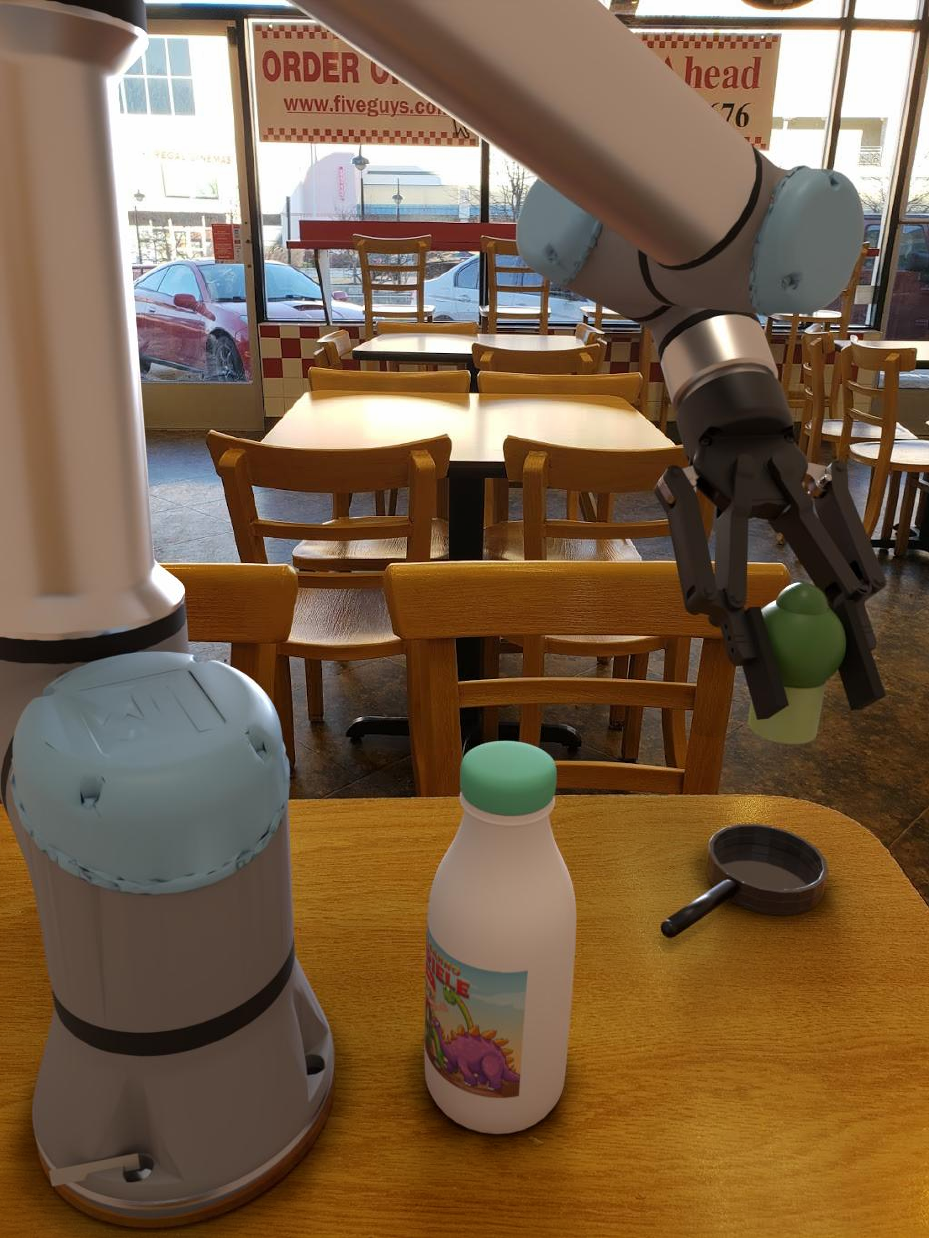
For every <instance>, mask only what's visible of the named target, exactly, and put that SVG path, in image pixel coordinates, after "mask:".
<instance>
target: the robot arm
mask: <svg viewBox="0 0 929 1238" xmlns="http://www.w3.org/2000/svg"><path fill="white" fill-rule="evenodd" d="M285 1H286V2H287V3H288V4H290V5H292V6H293V7H295V8H297V10H298V11H300V12H302V13H303V14H305V15H306V16H307V17H309V18H310V19H311V20H313V21H315V23H317V24H318V25H320V26H321V27H323V28H324V29H326V30H327V31H329V32H330V33H331V34H333V35H334V36H336V37H337V38H339V39H340V40H341V41H343V42H344V43H346V44H347V45H348V46H350V47H351V48H353V49H354V50H356V51H357V52H358V53H360V54H361V55H363V56H364V57H366V58H367V60H370V61H371V62H372V63H374V64H375V65H377V66H378V67H380V68H381V69H382V70H383V71H385V72H387V73H388V74H389V75H391V76H393V77H394V78H395V79H396V80H398V81H399V82H401V83H402V84H404V85H405V86H406V87H408V88H409V89H410V90H412V91H414V92H415V93H416V94H418V95H419V96H421V97H422V98H423V99H425V100H426V101H428V102H429V103H430V104H432V105H433V106H435V108H437V109H439V110H440V111H442V112H443V113H444V114H446V115H447V116H449V117H450V118H452V119H453V120H455V121H456V122H457V123H459V124H460V125H462V126H463V127H465V128H466V129H468V130H469V131H470V132H472V133H473V134H475V135H476V136H478V137H479V138H480V139H482V140H483V141H484V142H486V143H487V144H489V145H490V146H492V147H493V148H494V149H496V150H497V151H499V152H500V153H501V154H503V155H504V156H505V157H507V158H509V159H510V160H512V161H513V162H514V163H516V164H517V165H518V166H519V167H521V168H523V170H525V171H527V172H528V173H529V174H531V175H532V176H534V177H535V178H536V179H535V181H533V183H532V185H531V186H530V188H529V189H528V191H527V193H526V195H525V197H524V199H523V201H522V205H521V209H520V212H519V216H518V218H517V221H516V226H515V227H516V228H515V242H516V249H517V252H518V255H519V257H520V259H521V260H522V263H524V265H526V267H527V268H528V269H530V270H532V271H533V272H534V273H537V274H538V275H539V276H541V277H543V278H544V279H546V280H548V281H549V282H550V283H551V284H552V285H553V286H554V287H556V288H563V289H565V290H568V291H570V292H571V293H574V294H576V295H578V296H580V297H582V298H584V299H586V300H588V301H591V302H593V303H595V304H597V305H599V306H601V307H603V308H605V309H607V310H610V311H611V312H614V313H615V314H618V315H620V316H621V317H623V318H625V319H627V320H629V321H632V322H634V323H635V324H638V325H640V326H642V327H644V328H646V329H647V330H648V332H650V334H651V337H652V340H653V344H654V346H655V350H656V354H657V356H658V360H659V363H660V367H661V370H662V375H663V377H664V381H665V385H666V388H667V392H668V395H669V399H670V403H671V406H672V409H673V412H674V414H676V416H675V422H676V426H677V430H678V433H679V437H680V441H681V444H682V448H683V452H684V455H685V457H686V460H687V461H688V466H686V467H683V468H682V467H681V466H679V465H677V464H671V465H669V466H668V467H667V468H666V470H665V472H664V473H663V474H662V476H661V477H660V478H659V480H658V482H657V483H656V485H655V486H654V488H653V493H654V495H655V497H656V498H657V501H658V502H659V504H660V505H661V507H662V509H663V510H664V512H665V514H666V518H667V522H668V527H669V533H670V538H671V544H672V548H673V553H674V558H675V564H676V569H677V573H678V579H679V584H680V590H681V594H682V599H683V604H684V609H685V611H686V612H687V613H688V614H689V615H692V616H699V615H700V614H703V615H705V616H707V621H708V622H709V624H710V625H711V626H712V627H715V628H720V631H721V635H722V639H723V642H724V647H725V650H726V655H727V658H728V660H729V662H730V663H731V665H732V666H733V667H734V668H736V667H742V670H743V673H744V674H743V675H744V678H745V681H746V685H747V688H748V692H749V695H750V700H751V699H752V703H753V707H754V710H755V714H756V717H757V720H762V719H769V718H770V717H772V716H773V715H775V714H776V713H778V712H779V711H781V710H782V709H784V708H785V707H787V706H788V705H789V703H788V700H787V696H786V693H785V689H784V686H783V683H782V679H781V676H780V672H779V669H778V665H777V662H776V659H775V655H774V652H773V648H772V645H771V642H770V638H769V635H768V631H767V628H766V624H765V621H764V618H763V614H762V611H761V610H762V608H761V606H760V605H759V606H749V607H748V608H747V609H745V606H746V604H747V601H748V598H747V597H748V596H747V595H748V559H749V558H748V554H749V553H748V552H749V520H750V519H760V520H765V521H767V522H768V523H769V525H770V526H771V528H772V529H773V531H774V532H775V533H777V534H780V535H782V537H783V538H784V539H785V541H786V543H787V544H788V546H789V547H790V549H791V550H792V552H793V554H794V555H795V556H796V558H797V559H798V562H799V563H800V564H801V566H802V567H803V569H804V571H805V572H806V574H807V575H808V577H809V579H810V580H811V582H812V583H813V585H814V586H816V587H818V588H819V589H820V590H821V591H822V592H823V593H824V594H825V596H826V598H827V601H828V605H829V608H830V609H831V610H832V611H833V612H834V613H835V614H836V616H837V617H838V618H839V620H840V622H841V623H842V625H843V628H844V631H845V636H846V651H845V656H844V659H843V661H842V663H841V665H840V667H839V668H838V670H837V671H838V673H839V677H840V680H841V683H842V686H843V690H844V693H845V696H846V699H847V703H848V705H849V708H850V711H862V710H864V709H866V708H867V707H869V706H870V705H872V704H874V703H876V702H878V701H879V700H881V699H883V698H885V697H886V696H887V694H886V691H885V688H884V686H883V683H882V680H881V677H880V673H879V671H878V668H877V666H876V665H877V664H876V661H875V658H874V656H873V653H872V651H874V650H875V649H877V638H876V635H875V632H874V628H873V626H872V623H871V620H870V616H869V614H868V611H867V609H866V602H867V601H868V600H870V599H871V598H873V596H875V595H876V594H878V593H879V592H880V591H882V590H884V589H885V587H886V586H887V578H886V576H885V574H884V572H883V569H882V567H881V564H880V561H879V559H878V557H877V554H876V552H875V550H874V548H873V545H872V543H871V541H870V538H869V536H868V532H867V531H866V528H865V525H864V523H863V521H862V518H861V516H860V514H859V511H858V509H857V507H856V504H855V501H854V499H853V497H852V495H851V492H850V490H849V469H848V465H847V464H846V463H845V462H844V461H842V460H839V459H835V460H833V461H832V462H831V463H830V464H829V465H828V466H826V465H822V464H817V463H813V462H810V461H809V460H808V458H807V456H806V454H804V452H803V451H802V450H801V449H800V448H799V446H798V445H797V443H796V441H795V423H794V421H795V420H794V418H793V414H792V412H791V409H790V405H789V402H788V401H787V397H786V393H785V391H784V388H783V385H782V383H781V381H780V380H779V371H778V368H777V365H776V362H775V358H774V357H773V354H772V351H771V348H770V346H769V342H768V339H767V337H766V334H765V331H764V329H763V326H762V323H761V320H760V318H759V317H760V316H761V317H764V318H765V317H771V316H773V315H774V314H775V315H778V314H779V315H809V314H813V313H815V312H816V313H817V312H819V311H821V310H823V309H825V308H826V307H828V306H829V305H831V304H832V303H833V302H834V301H835V300H837V298H838V297H839V296H840V295H841V294H842V293H843V291H844V290H845V289H846V288H847V286H848V284H849V283H850V282H851V279H852V276H853V272H854V270H855V267H856V264H857V262H858V261H859V260H860V257H861V255H862V254H861V253H862V251H863V250H862V249H863V244H864V238H865V237H864V236H865V213H864V208H863V204H862V200H861V197H860V194H859V191H858V190H857V188H856V186H855V184H854V183H853V182H852V181H851V180H850V178H849V177H847V176H846V175H845V174H843V173H842V172H840V171H837V170H834V169H828V168H811V167H810V166H808V165H805V164H802V165H796V166H794V167H792V168H791V169H785V168H781V167H778V166H777V165H775V164H774V162H772V161H771V160H770V159H768V157H767V156H765V155H764V153H762V152H761V151H759V149H757V148H756V147H755V146H754V145H752V143H750V141H748V139H746V138H745V137H744V136H743V135H742V133H740V132H739V131H738V130H737V129H735V128H734V126H732V125H731V124H730V122H729V121H727V120H726V119H725V118H724V117H723V116H722V115H721V114H720V113H718V111H716V110H715V108H713V107H712V106H711V104H709V103H708V102H707V101H706V100H705V99H704V98H703V97H701V95H700V94H699V93H697V92H696V91H695V89H693V88H692V87H691V86H690V85H689V84H688V83H687V82H686V81H685V80H683V78H682V77H680V76H679V74H677V73H676V72H675V70H673V69H672V68H671V67H670V66H669V65H668V64H667V63H666V62H665V61H663V59H661V57H659V56H658V54H656V53H655V52H654V51H653V50H652V49H651V48H650V47H649V46H648V45H647V44H646V43H644V42H643V41H642V39H640V38H639V37H638V36H637V35H636V33H634V32H633V31H632V30H631V29H630V28H628V27H627V25H626V24H624V22H622V21H621V19H619V18H618V17H617V16H616V15H615V14H614V13H612V11H610V10H609V9H608V8H607V7H606V5H604V4H603V3H602V1H600V0H285ZM146 6H147V5H146V0H0V801H1V803H2V806H3V808H4V811H5V813H6V816H7V818H8V820H9V822H10V825H11V827H12V831H13V833H14V835H15V839H16V841H17V844H18V847H19V850H20V851H21V854H22V857H23V859H24V862H25V865H26V868H27V871H28V874H29V879H30V882H31V886H32V889H33V894H34V899H35V904H36V908H37V914H38V920H39V926H40V931H41V932H40V933H41V937H42V944H43V947H44V949H43V950H44V954H45V959H46V966H47V972H48V977H49V982H50V988H51V993H52V999H53V1007H54V1009H53V1012H52V1016H51V1021H50V1024H49V1028H48V1032H47V1037H46V1041H45V1045H44V1050H43V1053H42V1057H41V1062H40V1066H39V1070H38V1074H37V1078H36V1083H35V1086H34V1094H33V1097H32V1106H31V1107H32V1109H31V1110H32V1111H31V1117H32V1128H33V1133H34V1138H35V1143H36V1149H37V1153H38V1157H39V1161H40V1164H41V1166H42V1169H43V1172H44V1174H45V1176H46V1178H47V1179H48V1181H49V1183H50V1184H51V1187H53V1188H54V1190H56V1192H57V1193H58V1194H59V1195H60V1196H61V1197H62V1198H63V1199H64V1200H65V1201H66V1202H67V1203H69V1204H70V1205H72V1206H73V1207H75V1208H76V1209H77V1210H79V1211H81V1212H82V1213H84V1214H86V1215H88V1216H89V1217H92V1218H95V1219H98V1220H100V1221H103V1222H106V1223H110V1224H115V1225H118V1226H123V1227H125V1226H126V1227H129V1228H130V1227H131V1228H146V1229H154V1228H171V1227H178V1226H183V1225H189V1224H193V1223H197V1222H201V1221H205V1220H208V1219H211V1218H214V1217H217V1216H220V1215H222V1214H225V1213H227V1212H229V1211H232V1210H234V1209H236V1208H238V1207H240V1206H242V1205H244V1204H246V1203H247V1202H251V1200H253V1199H254V1198H256V1197H258V1196H259V1195H261V1194H263V1193H264V1192H266V1191H267V1190H269V1189H270V1188H271V1187H272V1186H274V1185H275V1184H276V1183H278V1182H279V1181H280V1180H281V1179H282V1178H283V1177H285V1176H286V1175H287V1174H288V1173H289V1172H290V1171H291V1170H292V1169H294V1168H295V1166H296V1165H297V1164H298V1163H299V1162H300V1161H301V1160H302V1159H303V1157H304V1156H305V1155H306V1154H307V1152H308V1151H309V1150H310V1149H311V1147H312V1146H313V1144H314V1143H315V1141H316V1140H317V1138H318V1136H319V1135H320V1133H321V1131H322V1130H323V1127H325V1126H324V1125H325V1123H326V1121H327V1118H328V1117H329V1114H330V1111H331V1107H332V1104H333V1099H334V1094H335V1091H336V1090H335V1089H336V1088H335V1087H336V1063H335V1062H336V1061H335V1059H336V1058H335V1056H336V1055H335V1043H334V1038H333V1033H332V1030H331V1027H330V1024H329V1022H328V1020H327V1017H326V1015H325V1013H324V1011H323V1009H322V1007H321V1003H319V1000H318V998H317V996H316V994H315V992H314V990H313V988H312V986H311V983H310V982H309V979H308V978H307V976H306V974H305V972H304V970H303V968H302V965H301V964H300V962H299V960H298V958H297V955H296V947H295V925H294V924H295V923H294V922H295V921H294V906H293V905H294V902H293V899H294V898H293V877H292V855H291V833H290V809H289V807H290V806H289V805H290V804H289V799H290V789H291V779H290V777H291V774H290V773H291V768H290V760H289V758H288V756H287V754H286V753H287V752H286V751H287V749H286V745H285V743H284V740H283V732H282V726H281V721H280V718H279V715H278V711H277V710H276V708H275V705H274V703H273V702H272V700H271V698H270V697H269V695H268V694H267V693H266V691H264V689H262V687H261V686H260V685H259V684H258V683H256V681H255V680H254V679H252V678H251V677H249V676H248V675H247V674H246V673H244V672H242V671H240V670H239V669H237V668H235V667H232V666H230V665H229V664H226V663H224V662H222V661H219V660H215V659H211V660H207V661H202V662H199V660H198V658H197V657H196V656H195V655H194V654H190V648H189V633H188V619H187V617H188V616H187V605H186V594H185V593H186V592H185V586H184V585H183V583H182V582H181V581H180V580H179V579H178V578H177V577H175V576H174V575H173V574H171V573H170V571H167V570H166V569H165V568H163V567H162V566H161V565H159V563H158V562H157V561H156V559H155V548H154V534H153V533H154V532H153V522H152V521H153V520H152V509H151V508H152V507H151V496H150V495H151V494H150V484H149V483H150V482H149V471H148V458H147V457H148V456H147V444H146V433H145V432H146V431H145V420H144V408H143V407H144V406H143V393H142V380H141V368H140V367H141V366H140V355H139V344H138V343H139V341H138V329H137V317H136V304H135V289H134V277H133V265H132V253H131V251H132V249H131V239H130V238H131V237H130V226H129V214H128V200H127V189H126V187H127V186H126V173H125V159H124V149H123V135H122V124H121V123H122V122H121V109H120V99H119V84H120V82H121V81H122V80H121V79H122V78H123V76H124V74H126V72H127V71H128V70H129V69H130V68H131V66H133V65H134V63H135V62H136V61H137V60H138V59H139V58H140V57H141V56H142V55H143V53H144V52H145V51H146V50H147V49H148V47H149V41H148V40H149V38H148V24H147V23H148V22H147V8H146ZM758 316H759V317H758ZM803 483H804V484H805V485H806V486H807V488H808V491H807V490H806V488H805V487H804V485H803ZM698 491H699V492H700V493H701V494H702V495H703V496H704V497H706V499H708V501H709V502H711V503H712V504H713V519H712V520H713V523H712V531H713V532H715V542H714V543H715V544H714V567H713V561H712V558H711V552H710V548H709V544H708V543H709V542H708V539H707V534H706V530H705V529H706V528H705V525H704V520H703V515H702V511H701V505H700V502H699V498H698V494H697V492H698ZM814 509H815V511H814ZM815 512H816V513H815Z"/></svg>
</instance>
